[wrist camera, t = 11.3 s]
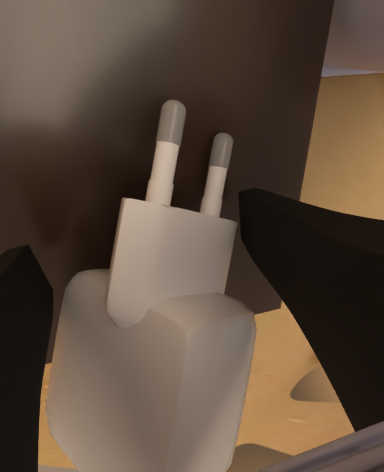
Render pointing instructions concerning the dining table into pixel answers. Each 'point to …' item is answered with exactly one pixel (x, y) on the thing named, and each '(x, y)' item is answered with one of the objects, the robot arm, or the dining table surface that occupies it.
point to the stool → (148, 118)
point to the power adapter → (156, 333)
